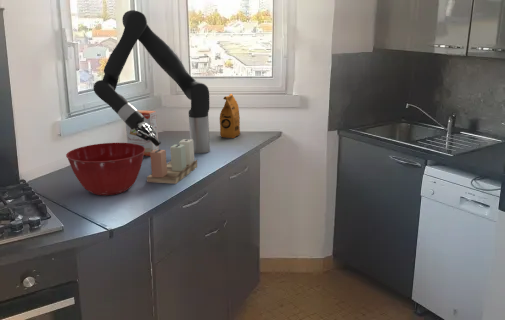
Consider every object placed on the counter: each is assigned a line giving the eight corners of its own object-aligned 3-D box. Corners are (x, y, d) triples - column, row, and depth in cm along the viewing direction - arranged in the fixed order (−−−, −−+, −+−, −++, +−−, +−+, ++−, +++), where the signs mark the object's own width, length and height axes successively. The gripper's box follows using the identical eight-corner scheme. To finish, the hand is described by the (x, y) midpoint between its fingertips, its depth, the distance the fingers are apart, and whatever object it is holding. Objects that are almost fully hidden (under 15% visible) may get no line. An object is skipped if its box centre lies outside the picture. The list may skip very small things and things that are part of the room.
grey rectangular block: (180, 164, 218) (179, 141, 216) (184, 161, 223) (183, 138, 220) (190, 165, 217) (189, 141, 214) (194, 162, 221) (193, 139, 219)
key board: (175, 183, 201) (175, 176, 200) (147, 181, 204) (146, 174, 203) (197, 166, 222) (197, 159, 221) (171, 165, 225) (170, 158, 224)
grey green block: (172, 170, 210) (170, 146, 207) (176, 167, 214) (174, 143, 211) (182, 171, 209) (180, 147, 206) (186, 168, 213) (184, 144, 210)
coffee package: (217, 137, 273) (215, 96, 267) (225, 132, 284) (224, 93, 278) (234, 138, 270) (233, 97, 263) (242, 133, 281) (241, 93, 275)
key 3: (152, 176, 203) (150, 151, 200) (157, 173, 207) (155, 148, 204) (162, 177, 202) (160, 152, 199) (167, 173, 206) (165, 149, 203)
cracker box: (127, 154, 245) (123, 111, 239) (135, 151, 250) (131, 109, 244) (152, 156, 240) (149, 112, 234) (159, 153, 245) (156, 110, 239)
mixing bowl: (110, 174, 215) (107, 138, 210) (163, 184, 201) (160, 146, 196) (55, 195, 192) (49, 155, 187) (110, 208, 177) (105, 165, 173)
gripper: (128, 113, 213) (157, 142, 214) (143, 107, 226) (170, 135, 226) (118, 125, 216) (147, 154, 216) (133, 118, 228) (160, 146, 229)
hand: (159, 144), depth 221 cm, fingers closed
